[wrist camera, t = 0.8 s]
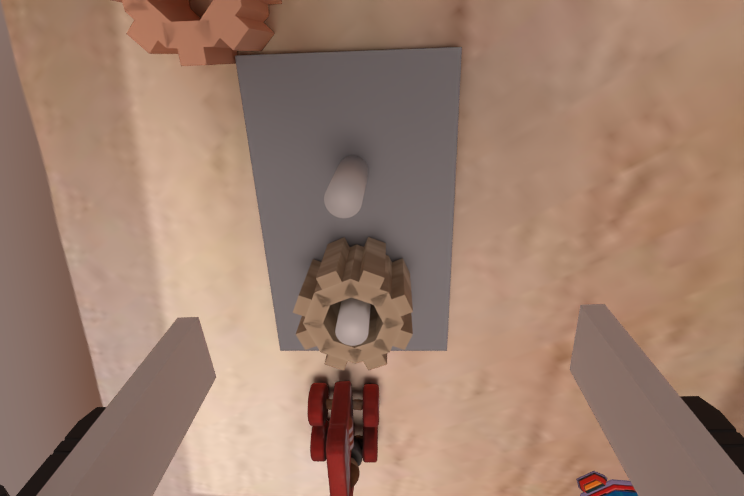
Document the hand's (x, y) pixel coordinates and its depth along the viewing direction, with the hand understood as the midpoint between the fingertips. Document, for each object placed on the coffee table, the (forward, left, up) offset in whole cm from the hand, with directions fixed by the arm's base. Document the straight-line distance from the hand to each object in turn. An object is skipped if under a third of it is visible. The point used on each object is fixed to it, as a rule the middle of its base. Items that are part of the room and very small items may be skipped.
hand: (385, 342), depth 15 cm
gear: (+9, -3, -20) cm, 22 cm away
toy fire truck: (+25, -5, -22) cm, 34 cm away
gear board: (+3, -3, -22) cm, 22 cm away
